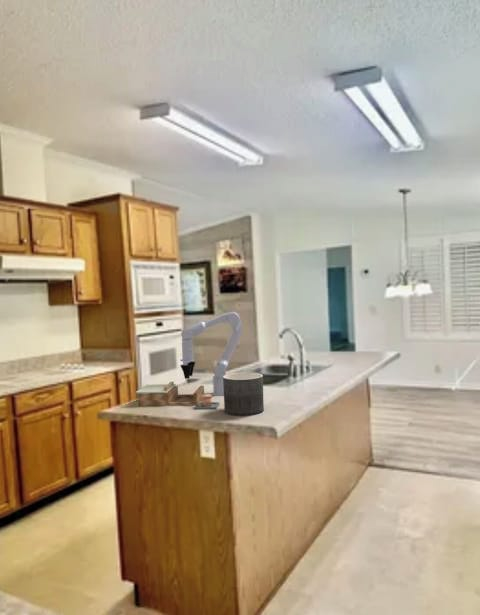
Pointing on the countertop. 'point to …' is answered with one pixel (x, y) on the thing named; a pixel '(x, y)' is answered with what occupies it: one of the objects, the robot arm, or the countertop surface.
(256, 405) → the planter
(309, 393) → the countertop surface
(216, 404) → the tray
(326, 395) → the countertop surface
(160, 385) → the lid
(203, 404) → the pot
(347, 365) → the countertop surface
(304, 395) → the countertop surface
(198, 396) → the cold frame
